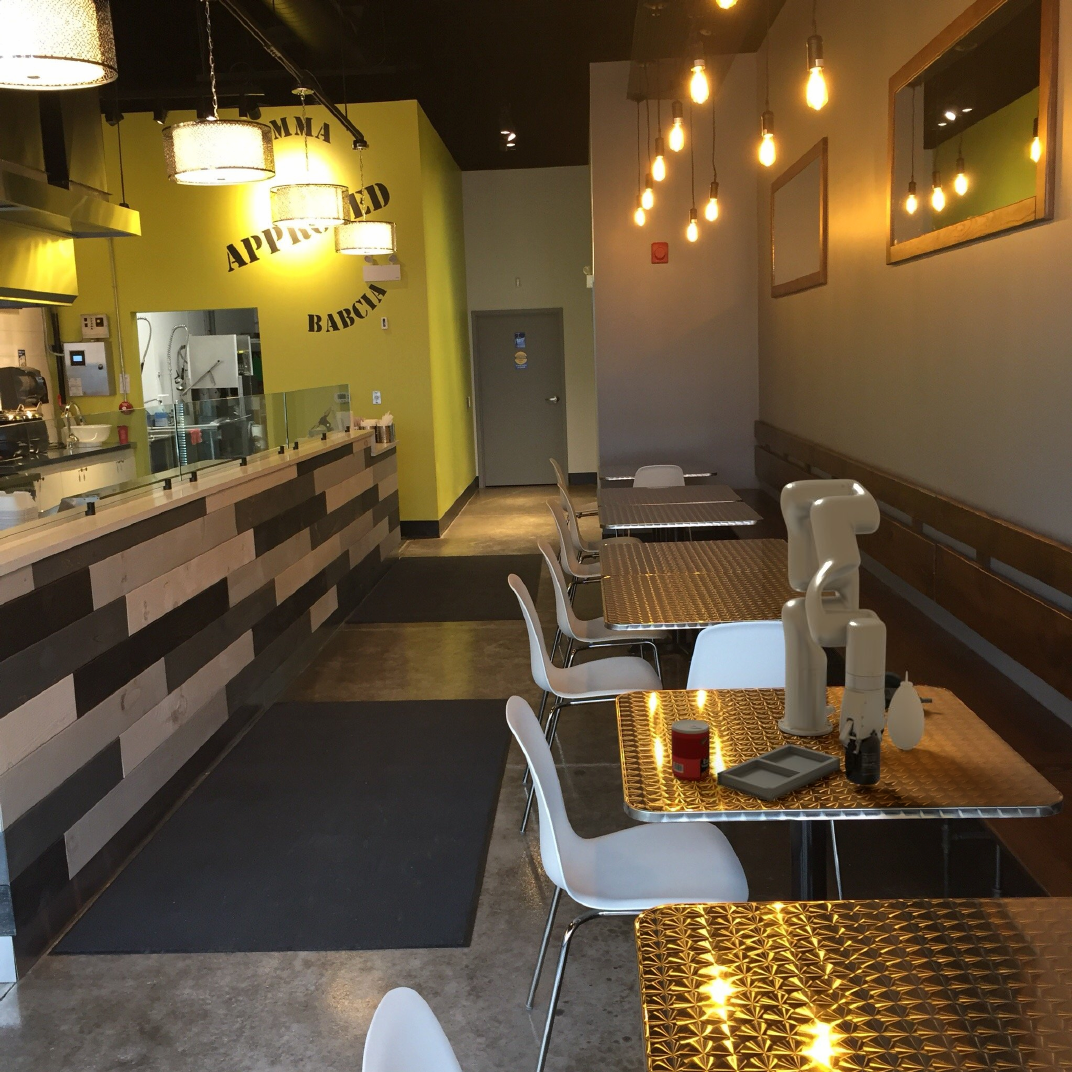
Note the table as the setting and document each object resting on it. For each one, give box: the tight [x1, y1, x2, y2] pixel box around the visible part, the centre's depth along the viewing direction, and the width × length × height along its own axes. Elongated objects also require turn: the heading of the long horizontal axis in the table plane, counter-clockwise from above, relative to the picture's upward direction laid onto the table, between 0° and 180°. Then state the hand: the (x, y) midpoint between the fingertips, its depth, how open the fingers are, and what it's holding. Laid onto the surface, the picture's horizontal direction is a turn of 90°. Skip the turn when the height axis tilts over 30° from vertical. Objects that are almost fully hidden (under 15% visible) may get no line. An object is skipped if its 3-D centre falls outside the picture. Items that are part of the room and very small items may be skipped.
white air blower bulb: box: [886, 670, 925, 751], centre depth 235 cm, size 8×8×18 cm
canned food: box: [670, 719, 711, 782], centre depth 224 cm, size 8×8×11 cm
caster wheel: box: [884, 670, 933, 708], centre depth 265 cm, size 6×10×15 cm
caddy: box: [716, 743, 841, 802], centre depth 222 cm, size 25×13×2 cm, turn 132°
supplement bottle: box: [844, 730, 882, 786], centre depth 214 cm, size 7×7×12 cm
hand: (862, 764), depth 214 cm, fingers closed on supplement bottle, 6 cm apart
